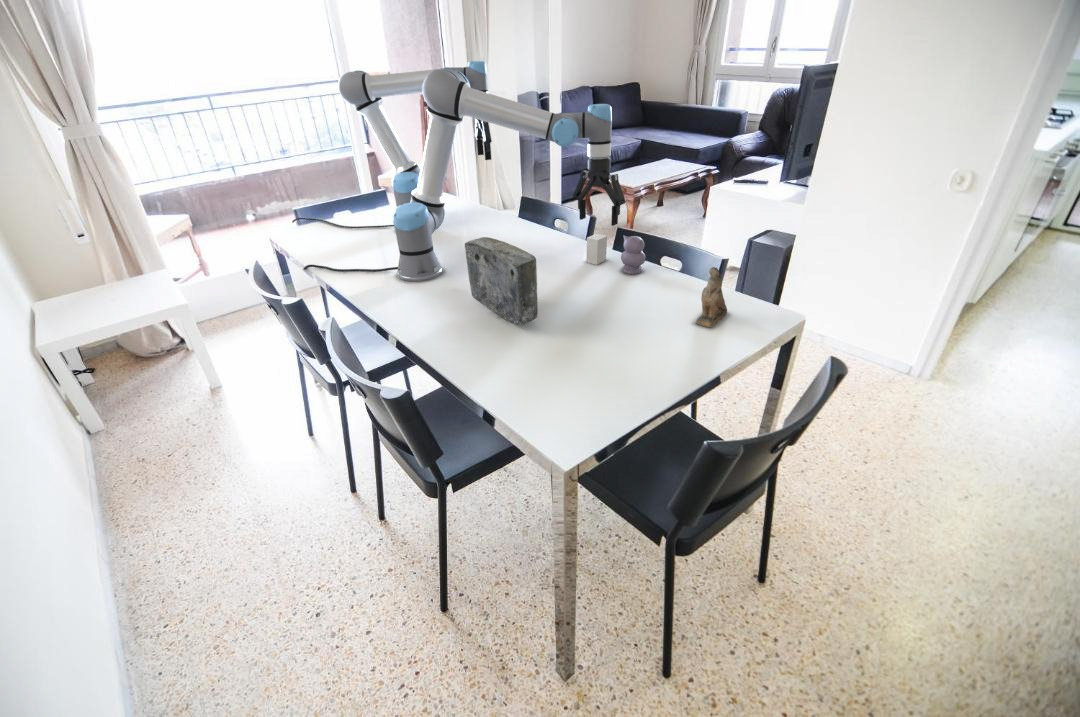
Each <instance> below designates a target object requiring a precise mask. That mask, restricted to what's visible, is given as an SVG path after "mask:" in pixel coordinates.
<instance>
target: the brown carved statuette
mask: <svg viewBox="0 0 1080 717" xmlns="http://www.w3.org/2000/svg"><path fill="white" fill-rule="evenodd" d="M708 273H709V275H710V276H709V278H708V279H707V280H708V281H707V284H706V286H705V287H704V288H703V290H702V292H701V297H700V298H701V309H702V312H701V315H700V316H699V317H698V318H697V319H696V321H695V324H696V325H699V326H703V327H705V328H712V327H714V326H715V325H716V324H717V323H719V321H721V320H722V319H723V318H725V317H726V316H727V315H728V307H727V304H726V301H725V298H724V293H723V290H722V287H723V281H722V279H721V278H720V270H719V269H718V268H717V267H715V266H712V267H711V268H710V269H709V270H708Z"/></svg>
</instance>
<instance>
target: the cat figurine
mask: <svg viewBox="0 0 1080 717" xmlns="http://www.w3.org/2000/svg"><path fill="white" fill-rule="evenodd" d="M623 249H624V250H623V252H622V253H621V255H620V260H621V262H622V264H623V265H622V273H624V274H628V275H637V274H640V273H642V265H644V264H645V262H646V254H645V253H644V252H643V251H644V249H645V242H644V239H642V238H641V236H637V235H631V236H627V235H624V234H623Z"/></svg>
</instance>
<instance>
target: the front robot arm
mask: <svg viewBox="0 0 1080 717" xmlns="http://www.w3.org/2000/svg"><path fill="white" fill-rule="evenodd" d="M444 68H445V67H444ZM434 70H435V71H432V72H431V73H429V74H428V75H427V77H426V78H425V80H424V83H423V87H422V91H423V93H422V96H423V99H424V101H425V103H426V104H427V106H426V112H427V113H428V115H429V122H428V127H427V134H426V139H425V145H424V150H423V156H422V160H421V167H420V170H421V172H420V177H419V183H418V188H417V189H415V190H414V191H412V196H411V202H410V203H406V204H403V205H400V206H398V207H395V208H394V210H393V212H392V225H394V226H393V227H394V230H395V231H394V232H395V236H396V242H397V247H398V251H399V259H398V265H397V266H393V267H386V268H372V269H371V268H334V267H329V266H326V265H318V264H306V266H304V267H303V270H308V268H316V269H324V270H328V271H332V272H339V273H344V272H345V273H348V272H350V273H351V272H354V273H355V272H361V273H362V272H364V273H365V272H366V273H378V272H379V273H381V272H387V271H394V270H397V276H398V278H399V279H400V280H402V281H406V282H413V283H414V282H425V281H429V280H432V279H435V278H438V277H439V276H440V275H441V274H442V273H443V268H442V264H441V263H440V260H439V259H438V256H437V254H436V252H435V250H434V243H433V236H432V234H434V232H435V231H436V230H437V229H439V228H440V227H441V226H442V224H443V222H444V219H445V217H446V216H445V214H446V213H445V204H446V203H445V202H446V199H445V197H444V196H443V192H444V186H445V182H446V176H447V173H448V167H449V163H450V158H451V153H452V148H453V143H454V138H455V133H456V129H457V126H458V125H459V124H460V123H462V122H463V119H464V117H469V118H471V119H474V120H475V119H479V120H482V121H486V122H488V124H493V125H497V126H498V127H499V126H500V127H503V128H506V129H510V130H513V131H517V132H520V133H523V134H526V135H530V136H533V137H537V138H539V139H540V138H541V139H544V140H546V141H550V142H553V143H555V144H556V145H558V146H559V147H562V148H567V147H570V146H572V145H573V144H574V143H575V142H576V141H577V139H587V157H588V158H587V169H585V170H581V171H580V173H579V179H578V182H577V184H576V187H575V189H574V192H573V194H572V197H573V199H576V200H577V209H578V210H579V220H585V219H586V218H587V199H585V197H586V196H587V194H588V193H589V192H590V191H591V189H592V188H593V187H598V188H602V189H603V190H604V191H605V193H606V194H607V196H608V197H609V199H610V201H611V202H612V204H613V205H612V206H611V222H610V224H611V226H612V227H613V226H616V225H618V224H619V223H618V222H619V216H620V215H621V206H623V205H625V204H626V202H627V200H626V198H625V194H624V192H623V189H622V186H621V184H620V180H619V174H618V173H614V174H611V173H610V170H611V166H612V164H611V162H612V161H611V160H612V159H611V155H612V128H613V127H612V126H613V125H612V124H613V115H612V114H613V112H612V110H613V109H612V106H611V104H608V103H595V104H594V103H593V104H589V105H588V107H587V111H583V112H558V113H554V112H551V111H548V110H545V109H543V108H538V107H535V106H531V105H528V104H525V103H522V102H518V101H516V100H512V99H510V98H509V99H508V98H506V97H502V96H498V95H495V94H492V93H489V92H488V93H486V92H482V91H479V90H476V89H473V88H470V84H469V82H468V80H467V78H466V77H465V75H464V74H462V73H461V72H460V71H458V70H455V69H451V68H450V67H449V68H445V69H442V70H437V69H434ZM587 179H588V181H587ZM585 184H586V185H585Z"/></svg>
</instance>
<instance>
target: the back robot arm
mask: <svg viewBox="0 0 1080 717" xmlns="http://www.w3.org/2000/svg"><path fill="white" fill-rule="evenodd" d="M445 68H451V69H455V70H458V71H460V72H461V73H462V74H464V75H465V77H466V78H467V80H468V82H469V84H470V88H473V89H476V90H479V91H482V92H486V93H489V81H488V80H489V79H488V70H487V63H486V62H485V61H483V60H474V61H472V60H471V61H470V60H469V61H468V62H467V66H463V67H459V66H458V67H456V66H455V67H453V66H452V67H451V66H450V67H448V66H446V67H441V68H437V69H427V70H416V71H407V72H405V71H404V72H395V73H386V74H375V75H372V74H370V73H368V72H366V71H364V70H354V71H347V72H344V73H343V74H342V75H341V76H340V77H339V79H338V81H337V82H338V83H337V89H338V92H339V95H340V96H341V98H342V99H343V100H344V101H345V102H346V103H348V104H350V105H353V107H354V108H355V110H356V112H357V113H358V114H360V115H362V116H364V119H365V120H366V122H367V124H368V126H369V127H370V129H371V131H372V133H373V135H374V136H375V138H376V140H377V141H378V143H379V145H380V147H381V149H382V150H383V152H384V154H385V156H386V157H387V159H388V161H389V163H390V164H391V167H392V168H393V173H392V174H393V176H392V178H391V187H392V191H393V197H394V202H395V208H397V207H398V206H400V205H403V204H406V203H410V202H411V196H412V191H414V190H415V189H417V188H418V183H419V177H420V172H421V168H420V167H419V165H418V164H417V161H413V160H412V159H411V158H410V156H409V154H408V152H407V150H406V148H405V147H404V144H403V143H402V141H401V140H400V139H401V138H400V137H399V136H398V135H399V134H398V133H397V131H396V130H395V128H394V126H393V124H392V122H391V120H390V119H389V117H388V115H387V113H386V112H385V110H384V107H383V98H386V97H395V96H396V97H397V96H398V97H399V96H406V95H407V96H408V95H417V94H423V91H422V87H423V83H424V80H425V78H426V77H427V75H428V74H429V73H431V72H432V71H435V70H442V69H445ZM474 137H475V140H476V150H477V152H476V154H477V156H484V160H485V161H491V160H492V148H491V143H492V136H491V130H490V123H489V122H486V121H482V120H479V119H475V118H474ZM298 220H306V221H316V222H317V221H318V222H322V223H326V224H330V225H332V226H335V227H339V228H345V229H369V228H370V229H374V228H391V227H392V228H393V227H394V224H386V225H361V226H352V225H351V226H349V225H341V224H337V223H334V222H331V221H327V220H324V219H320V218H309V217H297V218H294V219H293V220H292V221H291V223H295V222H296V221H298Z"/></svg>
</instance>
